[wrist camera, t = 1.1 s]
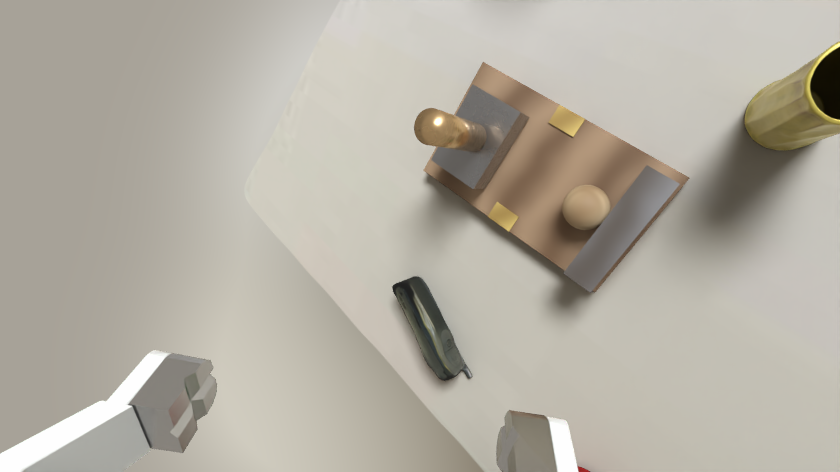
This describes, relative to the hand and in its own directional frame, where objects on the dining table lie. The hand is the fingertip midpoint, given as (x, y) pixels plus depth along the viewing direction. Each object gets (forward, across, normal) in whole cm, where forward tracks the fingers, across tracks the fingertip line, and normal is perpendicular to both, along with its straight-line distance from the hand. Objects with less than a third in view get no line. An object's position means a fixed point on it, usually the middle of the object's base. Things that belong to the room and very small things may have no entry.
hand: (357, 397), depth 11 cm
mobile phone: (+34, -4, +29) cm, 45 cm away
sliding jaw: (+39, -6, +5) cm, 40 cm away
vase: (+32, -30, -3) cm, 44 cm away
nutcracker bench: (+38, -12, +7) cm, 40 cm away
